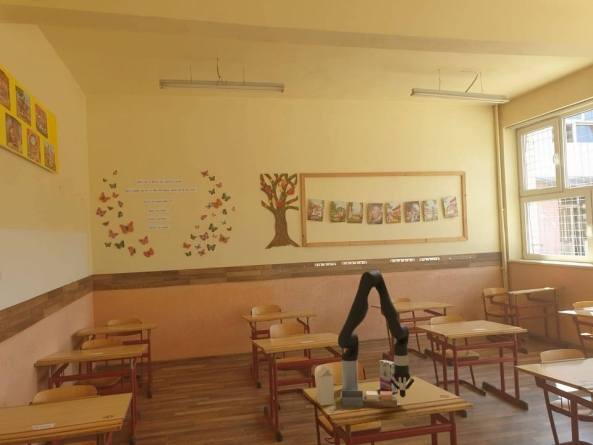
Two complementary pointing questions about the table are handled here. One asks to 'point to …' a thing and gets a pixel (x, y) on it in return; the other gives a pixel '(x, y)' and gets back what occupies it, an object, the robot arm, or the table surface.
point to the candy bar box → (387, 376)
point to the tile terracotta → (386, 395)
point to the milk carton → (325, 387)
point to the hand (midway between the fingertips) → (402, 396)
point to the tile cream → (372, 395)
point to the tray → (351, 398)
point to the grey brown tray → (379, 402)
